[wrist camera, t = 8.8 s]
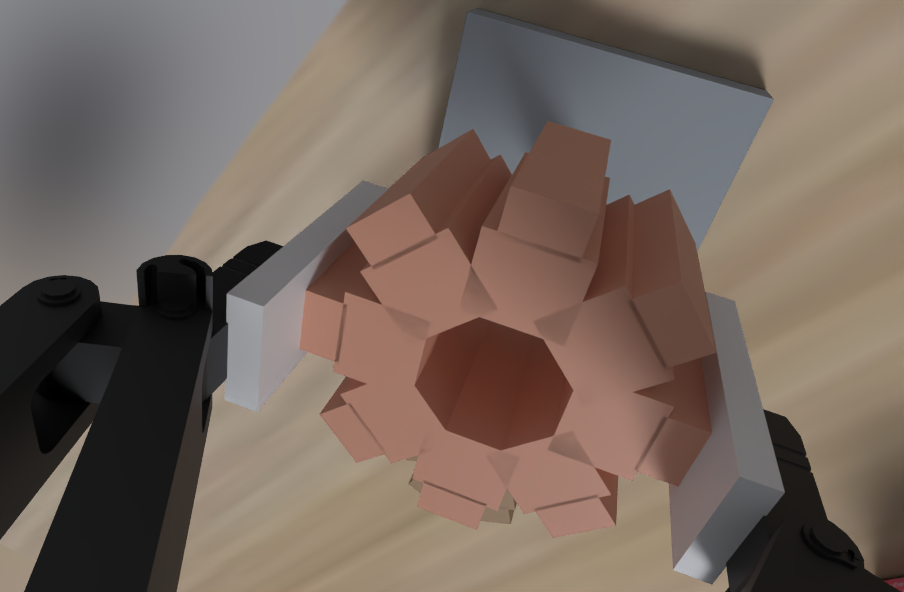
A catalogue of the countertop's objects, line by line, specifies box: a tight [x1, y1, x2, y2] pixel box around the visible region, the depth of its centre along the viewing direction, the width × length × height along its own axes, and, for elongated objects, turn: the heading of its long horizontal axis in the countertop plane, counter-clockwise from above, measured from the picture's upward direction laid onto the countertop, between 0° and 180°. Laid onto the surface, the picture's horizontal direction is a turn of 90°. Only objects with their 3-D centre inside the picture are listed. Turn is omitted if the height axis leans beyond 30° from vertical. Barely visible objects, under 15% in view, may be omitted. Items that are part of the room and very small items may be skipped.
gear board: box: [406, 8, 774, 524], centre depth 24 cm, size 20×11×8 cm, turn 167°
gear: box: [299, 121, 716, 538], centre depth 15 cm, size 9×9×5 cm
